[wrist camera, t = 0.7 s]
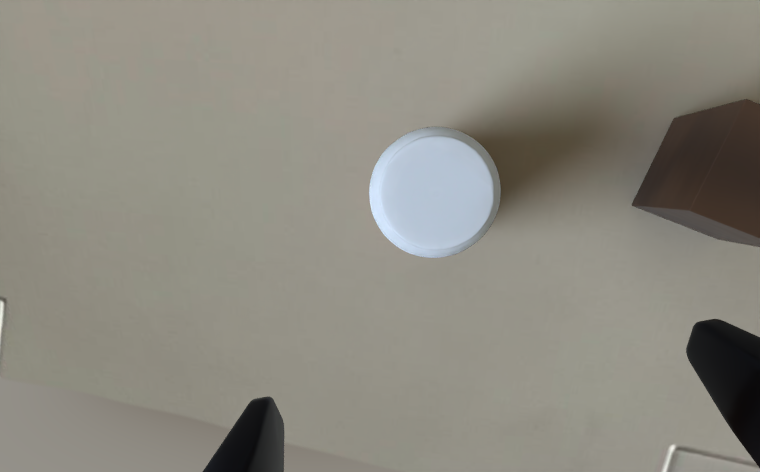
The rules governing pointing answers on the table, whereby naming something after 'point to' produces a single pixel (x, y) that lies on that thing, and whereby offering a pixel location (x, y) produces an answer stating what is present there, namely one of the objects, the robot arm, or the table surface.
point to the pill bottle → (435, 192)
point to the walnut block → (709, 173)
